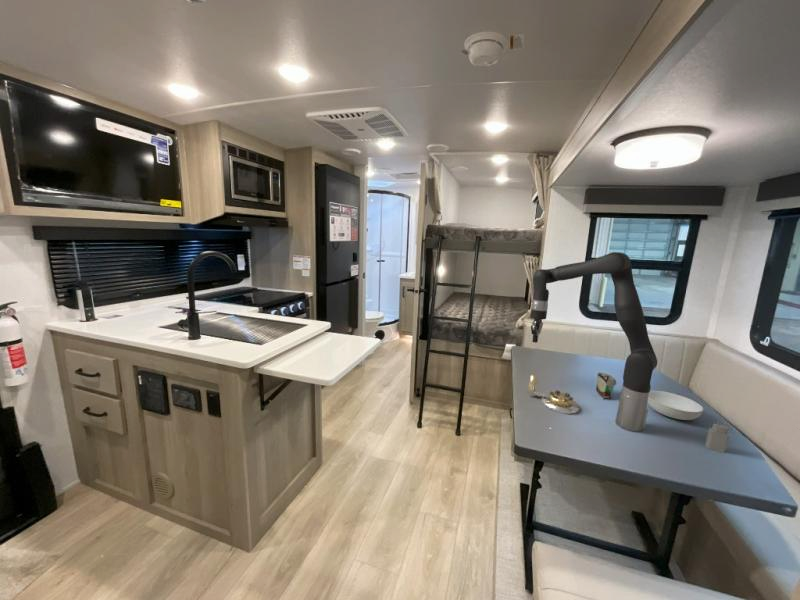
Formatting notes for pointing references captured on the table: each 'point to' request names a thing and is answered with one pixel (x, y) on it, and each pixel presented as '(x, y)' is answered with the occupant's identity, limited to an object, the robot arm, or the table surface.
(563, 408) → the plate
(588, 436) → the table surface
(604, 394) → the food container
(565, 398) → the crank handle
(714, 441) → the power adapter
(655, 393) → the serving bowl
